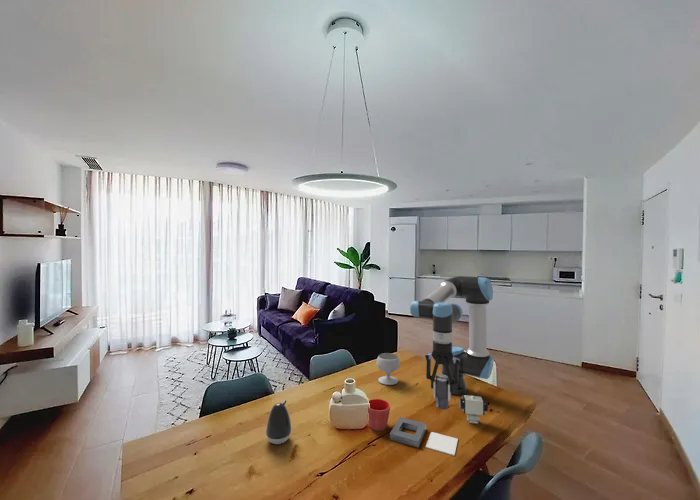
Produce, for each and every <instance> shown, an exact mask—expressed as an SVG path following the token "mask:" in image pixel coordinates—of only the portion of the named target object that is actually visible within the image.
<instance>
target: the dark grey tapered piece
mask: <svg viewBox="0 0 700 500" xmlns="http://www.w3.org/2000/svg"><path fill="white" fill-rule="evenodd" d="M286 404H287V400H286V399H284V400H283V401H282V402H278V403H274V405H273V406H272V408H271V409H270V412H269V414H268V418H267V423H266V428H265V429H266V430H265V431H266V432H265V434H266V437H267V440H268V441H269V442H270V443H271V444H273V445H281V443H282V444H284V443H286V441H288V439H290V436H291V433H292V422H291V417H290V414H289V410H288V409H287V407H286Z"/></svg>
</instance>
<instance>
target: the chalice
mask: <svg viewBox="0 0 700 500" xmlns="http://www.w3.org/2000/svg"><path fill="white" fill-rule="evenodd" d="M400 365H401V361H400V358H399V356H398V355H397V354H394V353H391V352H384V353H383V352H382V353H380V354H378V356H377V358H376V366H377V368H378V369H379V370H380V371H382V372H384V373H385V374H386V375H384V376H380V377H379V378H377V381H378V383H380V384H382V385H386V386H393V385H397V384H398V383H399V380H398V378H397V377H394V376H392V375H391V373H393V372H395V371H398V370H399V369H400Z"/></svg>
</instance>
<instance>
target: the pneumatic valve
mask: <svg viewBox="0 0 700 500" xmlns="http://www.w3.org/2000/svg"><path fill="white" fill-rule="evenodd" d="M458 404H459V405H458V406H459V409H460V410H462V411H463V412H462V413H463V414H466V421H468V424H469V423H470V424H475V425H478V424H479V422H480V421H481V420H480V418H481V417H480V416H485V414H486V413H487V412H488V411H489V405H488V401H487V400H485V399H484V398H483V396H478V395H477V396H476V395H471V394H470V395H466V394H465V395H464V394H461V398H459V402H458Z"/></svg>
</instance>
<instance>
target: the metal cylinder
mask: <svg viewBox="0 0 700 500" xmlns="http://www.w3.org/2000/svg"><path fill="white" fill-rule="evenodd" d="M435 380H436V398H435V407H436V408H437V409H440V410H448V409H449V401H448V384H449V378H448V376H446V375H443V374H442V373H440V374H436V376H435Z"/></svg>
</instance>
